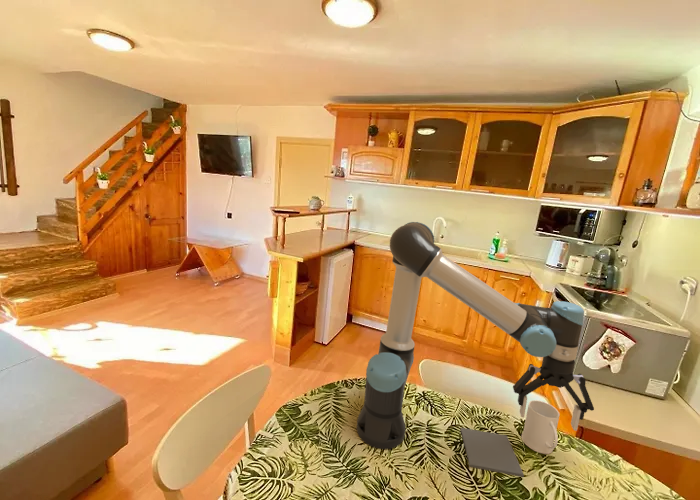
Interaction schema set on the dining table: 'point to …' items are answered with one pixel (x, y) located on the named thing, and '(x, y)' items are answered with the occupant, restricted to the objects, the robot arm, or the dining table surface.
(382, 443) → the robot arm
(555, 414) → the mug
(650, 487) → the dining table surface
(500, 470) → the coaster
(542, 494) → the dining table surface
